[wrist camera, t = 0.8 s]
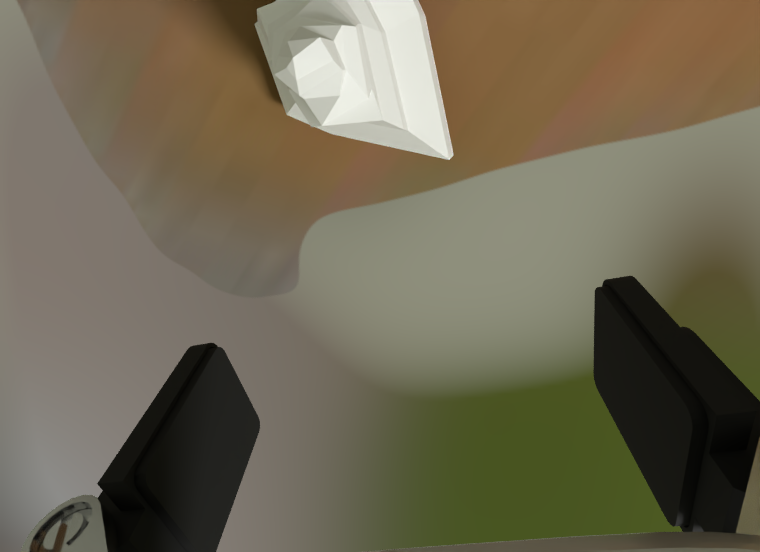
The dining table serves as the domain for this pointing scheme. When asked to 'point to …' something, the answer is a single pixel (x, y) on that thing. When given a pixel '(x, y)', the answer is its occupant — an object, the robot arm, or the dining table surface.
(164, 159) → the dining table surface
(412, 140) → the soft serve ice cream
